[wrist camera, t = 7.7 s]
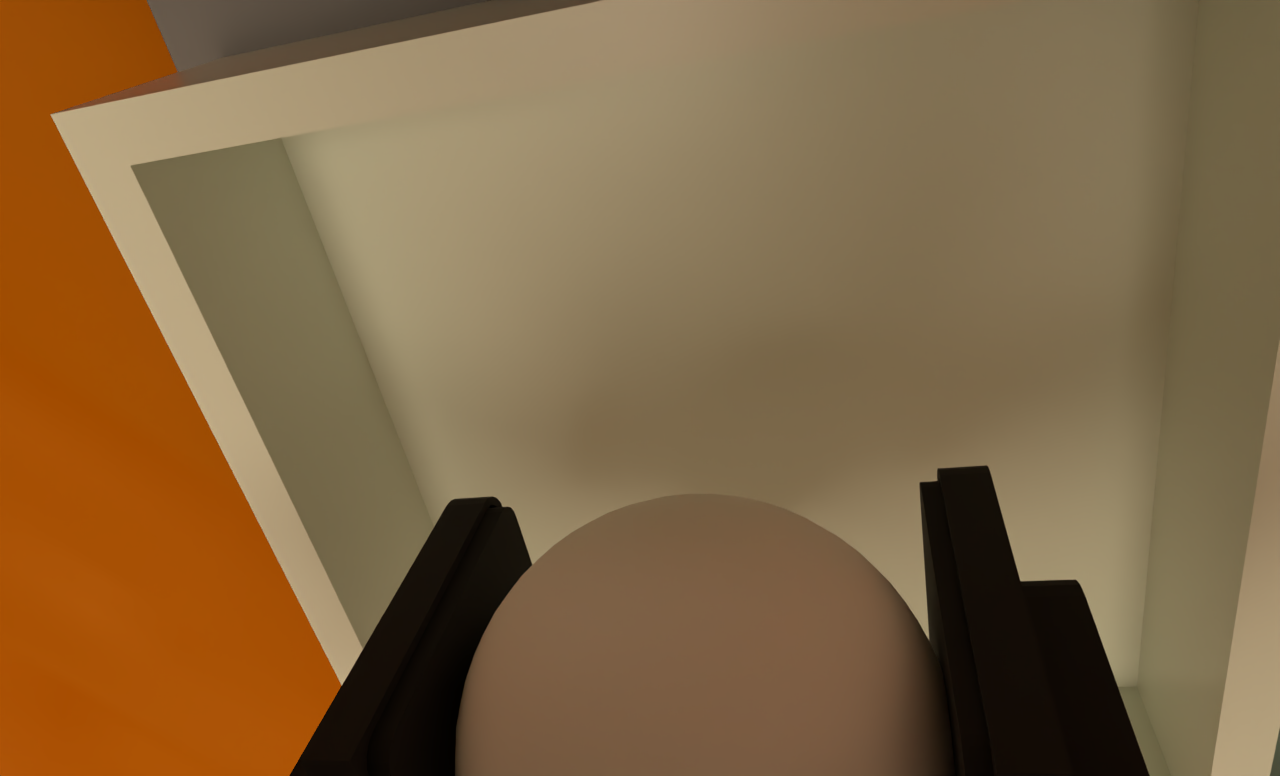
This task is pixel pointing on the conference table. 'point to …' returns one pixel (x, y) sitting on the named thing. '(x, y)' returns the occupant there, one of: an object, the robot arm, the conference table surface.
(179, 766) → the conference table surface
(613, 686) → the ball
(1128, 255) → the tray
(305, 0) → the mat
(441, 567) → the robot arm
